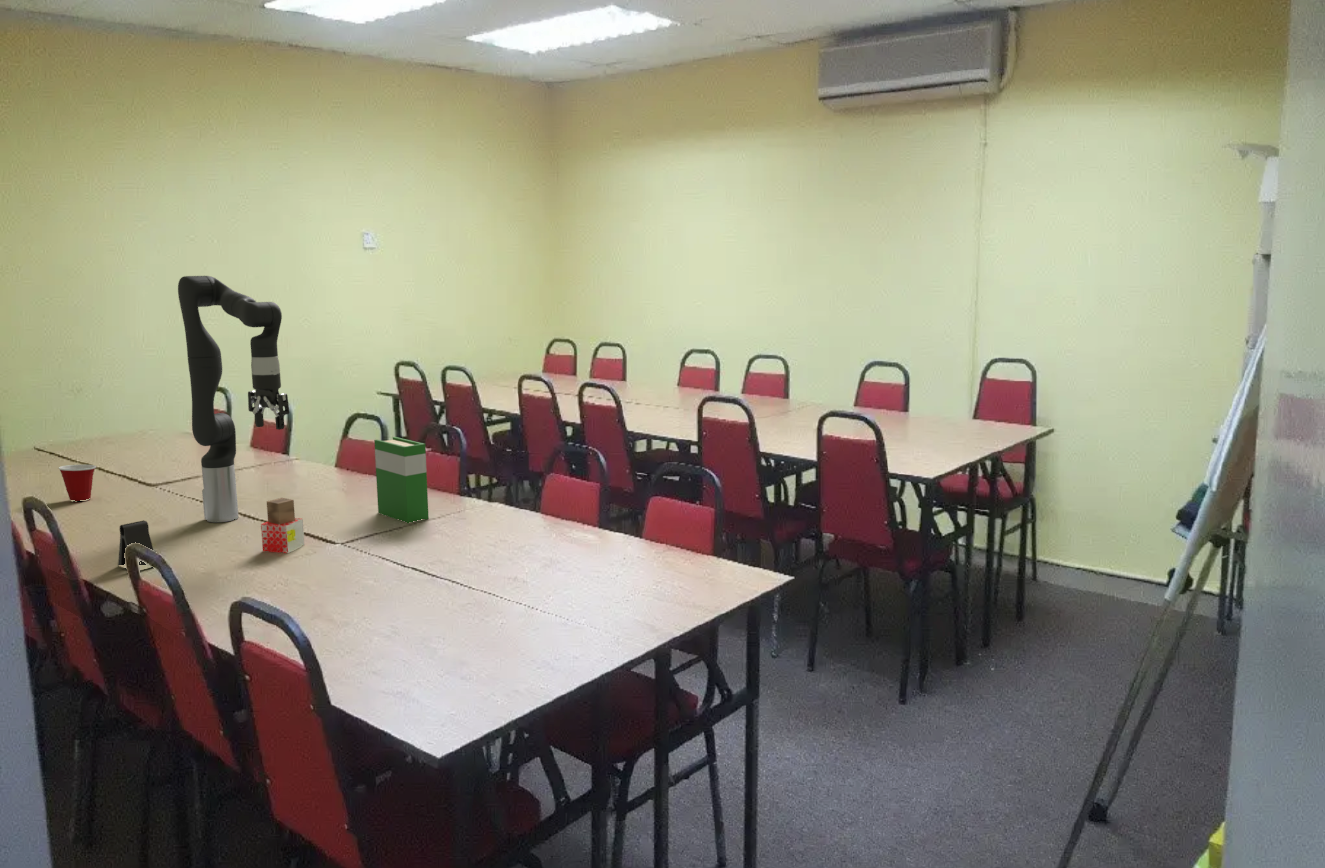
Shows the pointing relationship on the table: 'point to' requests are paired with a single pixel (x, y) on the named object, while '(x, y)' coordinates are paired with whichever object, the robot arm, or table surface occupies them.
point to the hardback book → (401, 479)
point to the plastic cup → (78, 480)
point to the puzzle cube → (282, 536)
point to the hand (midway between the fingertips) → (270, 428)
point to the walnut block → (280, 511)
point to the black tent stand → (133, 537)
